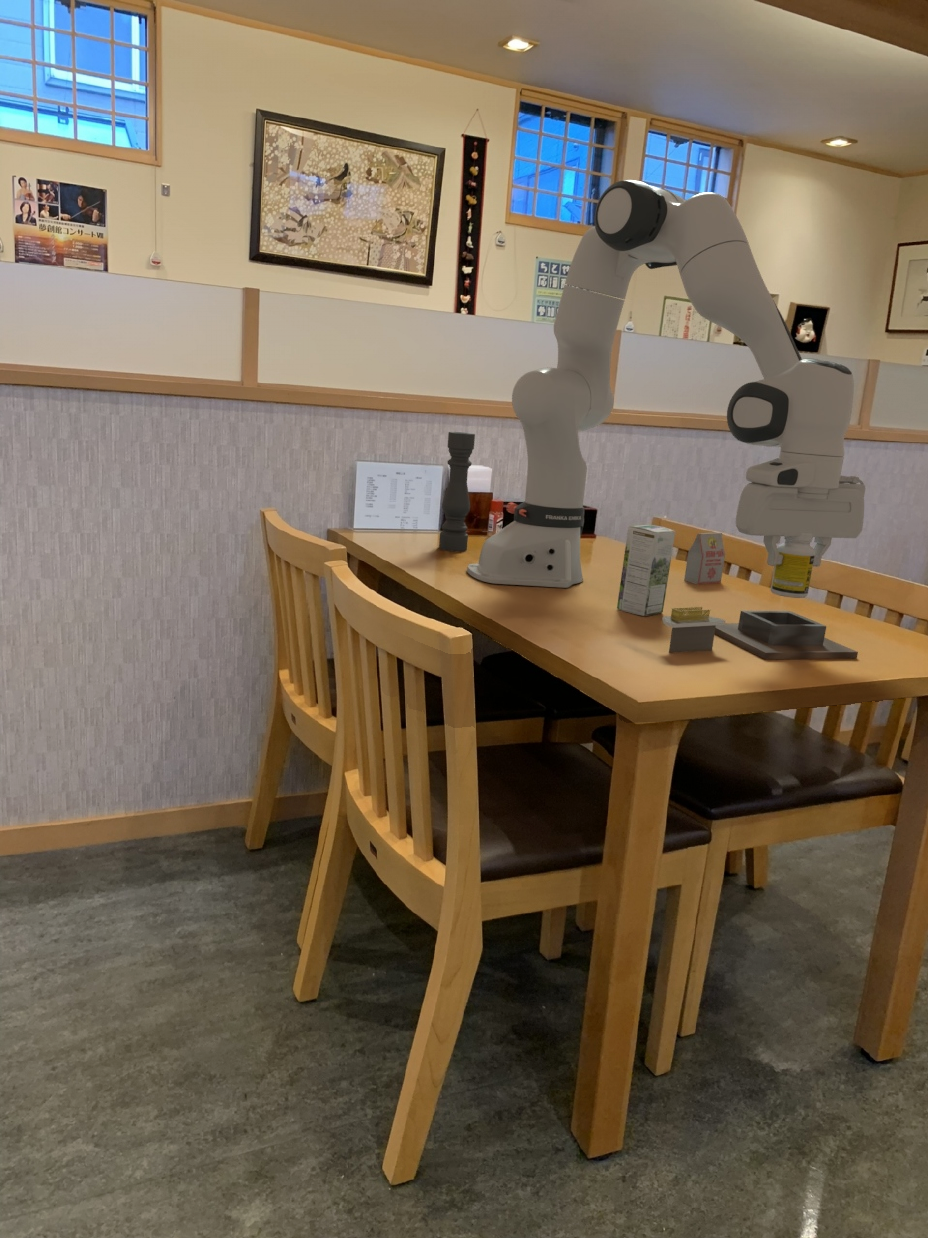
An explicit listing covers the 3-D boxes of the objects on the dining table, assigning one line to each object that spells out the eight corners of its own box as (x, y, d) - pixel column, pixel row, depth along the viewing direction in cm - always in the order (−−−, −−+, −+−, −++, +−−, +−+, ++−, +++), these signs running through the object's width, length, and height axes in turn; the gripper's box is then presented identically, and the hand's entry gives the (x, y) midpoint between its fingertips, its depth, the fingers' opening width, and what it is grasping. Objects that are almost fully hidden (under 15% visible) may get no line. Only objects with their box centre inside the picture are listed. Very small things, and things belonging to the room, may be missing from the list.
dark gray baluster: (437, 545, 199) (446, 431, 193) (465, 547, 200) (474, 433, 194) (440, 550, 193) (448, 432, 187) (468, 552, 194) (478, 434, 188)
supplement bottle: (810, 600, 133) (821, 535, 131) (772, 596, 134) (782, 531, 132) (804, 593, 138) (814, 530, 136) (768, 589, 139) (777, 526, 137)
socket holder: (764, 659, 129) (769, 632, 128) (705, 629, 144) (709, 604, 142) (856, 658, 133) (861, 632, 132) (790, 629, 148) (794, 605, 147)
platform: (612, 644, 132) (617, 600, 130) (706, 637, 140) (712, 597, 138) (663, 669, 122) (669, 622, 120) (762, 660, 130) (769, 616, 128)
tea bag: (684, 580, 183) (691, 531, 180) (707, 578, 186) (714, 531, 184) (697, 584, 180) (705, 535, 177) (720, 582, 183) (728, 534, 181)
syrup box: (635, 606, 156) (646, 523, 152) (664, 613, 152) (676, 529, 148) (616, 609, 152) (626, 524, 148) (645, 617, 148) (656, 530, 144)
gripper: (852, 474, 138) (836, 562, 141) (737, 468, 132) (723, 560, 135) (881, 479, 132) (864, 570, 135) (762, 472, 126) (747, 569, 129)
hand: (793, 565), depth 135 cm, fingers closed on supplement bottle, 5 cm apart
